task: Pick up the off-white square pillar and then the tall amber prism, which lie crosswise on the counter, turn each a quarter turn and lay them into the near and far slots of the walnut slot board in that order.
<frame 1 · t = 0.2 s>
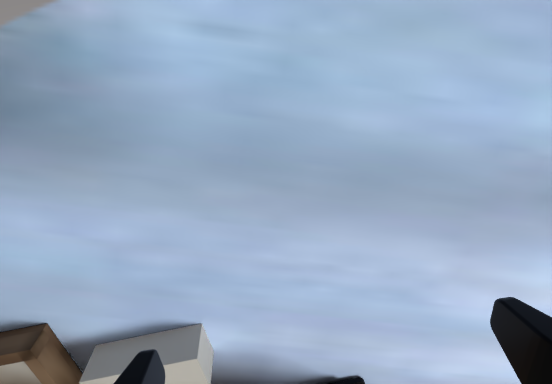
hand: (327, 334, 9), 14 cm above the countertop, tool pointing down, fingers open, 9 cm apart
off-white square pillar: (156, 345, 29), on the countertop
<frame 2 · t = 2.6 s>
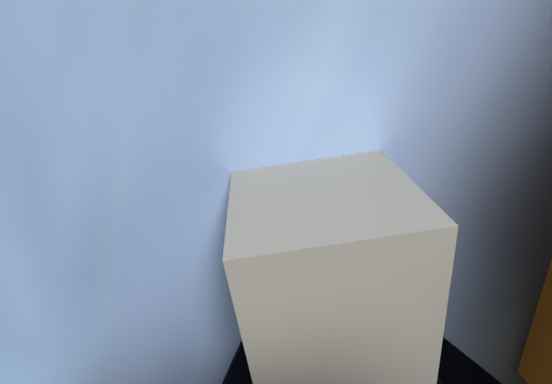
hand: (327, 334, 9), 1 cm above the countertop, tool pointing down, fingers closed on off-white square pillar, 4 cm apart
off-white square pillar: (318, 298, 10), on the countertop, touching gripper
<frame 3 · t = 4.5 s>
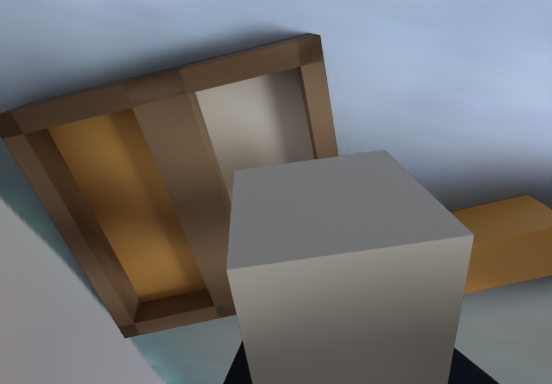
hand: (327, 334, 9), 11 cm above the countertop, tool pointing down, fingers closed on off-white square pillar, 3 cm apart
slot board: (208, 195, 20), on the countertop
off-white square pillar: (320, 303, 10), point 10 cm above the countertop, touching gripper
tall amber prism: (452, 231, 22), on the countertop
when the fingers open (3 cm above the countertop, at t = 6.3 s): off-white square pillar drops 2 cm, resting on slot board.
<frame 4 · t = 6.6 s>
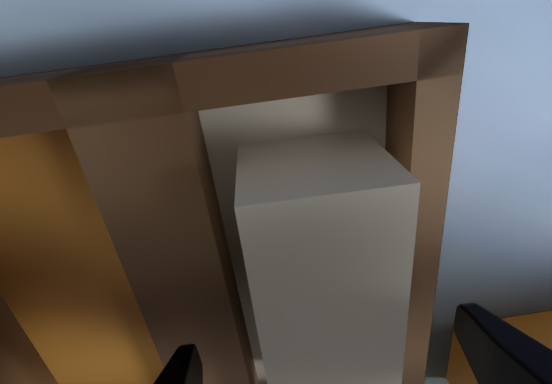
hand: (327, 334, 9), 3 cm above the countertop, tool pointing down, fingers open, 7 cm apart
slot board: (200, 269, 12), on the countertop
off-white square pillar: (310, 265, 12), point 1 cm above the countertop, touching slot board
tall amber prism: (544, 333, 16), on the countertop
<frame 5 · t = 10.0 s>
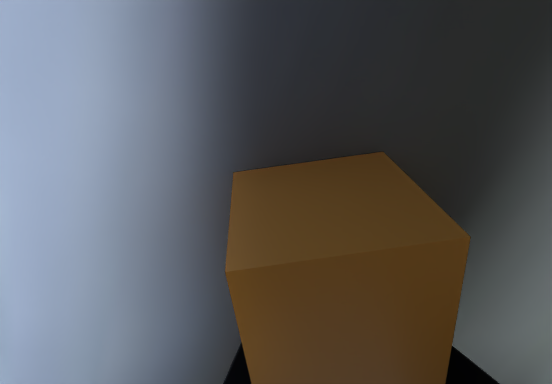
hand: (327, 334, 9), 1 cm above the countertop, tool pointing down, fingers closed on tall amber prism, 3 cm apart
tall amber prism: (319, 304, 10), on the countertop, touching gripper
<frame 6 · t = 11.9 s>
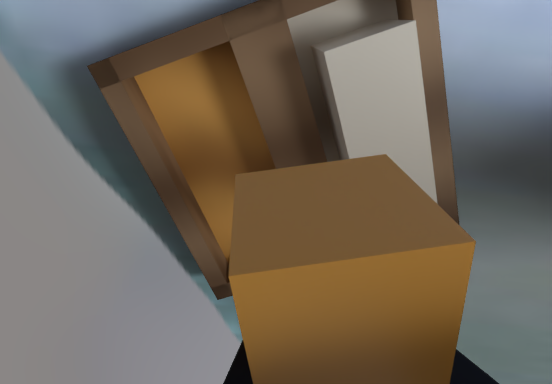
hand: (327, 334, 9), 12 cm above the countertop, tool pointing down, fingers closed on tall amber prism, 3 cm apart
slot board: (294, 143, 19), on the countertop
off-white square pillar: (365, 123, 18), point 1 cm above the countertop, touching slot board
tall amber prism: (321, 306, 10), point 11 cm above the countertop, touching gripper
when the fingers open (4 cm above the countertop, at t = 13.7 s): tall amber prism drops 3 cm, resting on slot board.
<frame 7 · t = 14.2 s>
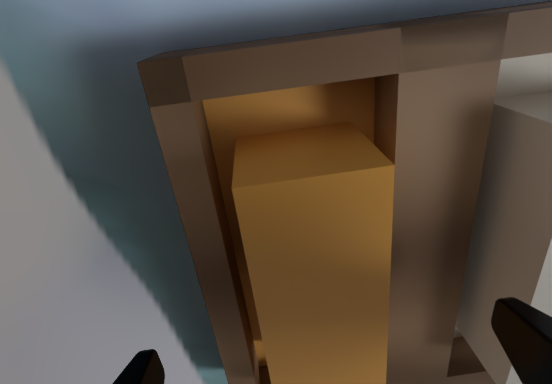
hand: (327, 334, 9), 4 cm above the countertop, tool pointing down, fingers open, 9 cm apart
slot board: (398, 223, 13), on the countertop
off-white square pillar: (509, 218, 13), point 1 cm above the countertop, touching slot board
tall amber prism: (305, 249, 12), point 1 cm above the countertop, touching slot board
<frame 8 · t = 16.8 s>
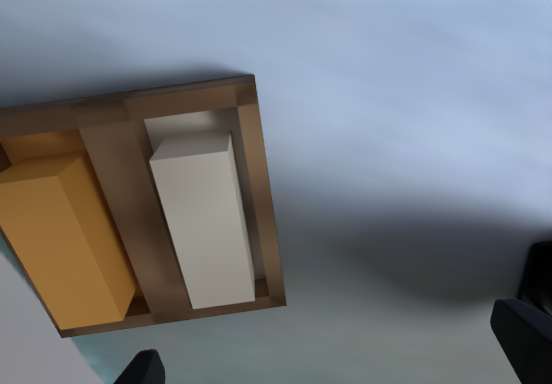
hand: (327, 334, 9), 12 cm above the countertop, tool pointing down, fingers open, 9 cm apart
slot board: (153, 209, 21), on the countertop
off-white square pillar: (214, 205, 20), point 1 cm above the countertop, touching slot board
tall amber prism: (87, 224, 20), point 1 cm above the countertop, touching slot board
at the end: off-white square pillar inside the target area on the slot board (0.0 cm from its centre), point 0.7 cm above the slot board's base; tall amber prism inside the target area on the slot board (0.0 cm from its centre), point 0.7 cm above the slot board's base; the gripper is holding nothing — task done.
